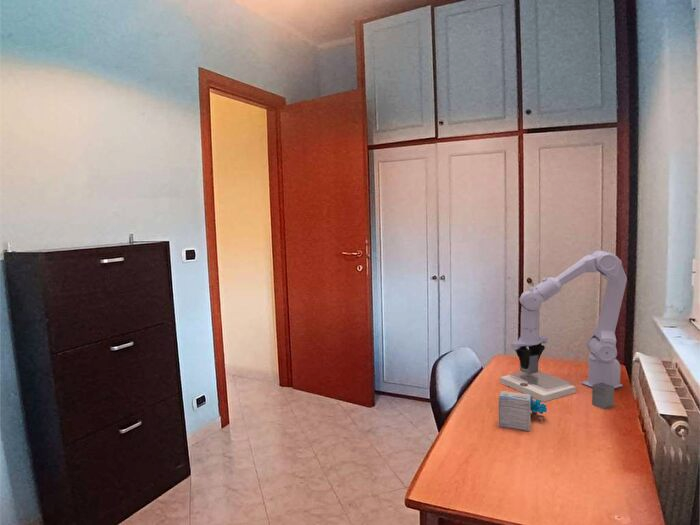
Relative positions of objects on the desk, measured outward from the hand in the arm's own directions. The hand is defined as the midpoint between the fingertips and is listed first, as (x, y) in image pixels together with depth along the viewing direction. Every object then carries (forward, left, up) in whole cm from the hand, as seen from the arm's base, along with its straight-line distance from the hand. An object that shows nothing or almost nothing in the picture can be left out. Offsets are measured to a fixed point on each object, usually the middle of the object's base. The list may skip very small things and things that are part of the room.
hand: (529, 366), depth 153 cm
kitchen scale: (+2, +4, -5) cm, 7 cm away
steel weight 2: (-4, +23, -6) cm, 25 cm away
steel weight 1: (0, 0, -2) cm, 2 cm away
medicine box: (+28, +20, -6) cm, 35 cm away
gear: (+20, +18, -6) cm, 27 cm away
